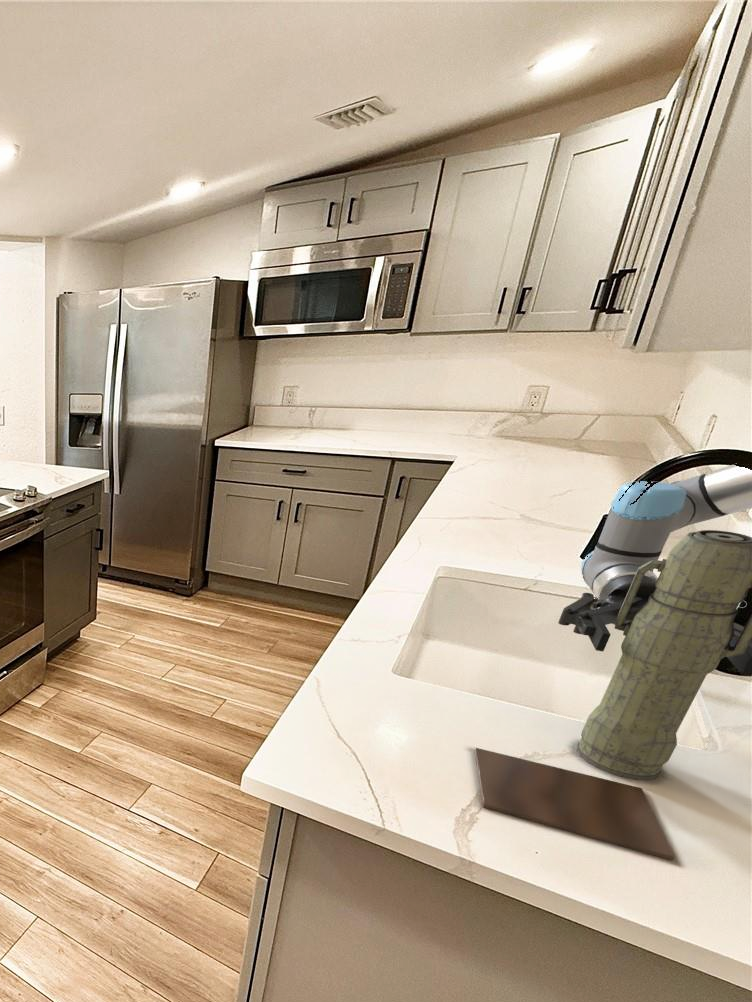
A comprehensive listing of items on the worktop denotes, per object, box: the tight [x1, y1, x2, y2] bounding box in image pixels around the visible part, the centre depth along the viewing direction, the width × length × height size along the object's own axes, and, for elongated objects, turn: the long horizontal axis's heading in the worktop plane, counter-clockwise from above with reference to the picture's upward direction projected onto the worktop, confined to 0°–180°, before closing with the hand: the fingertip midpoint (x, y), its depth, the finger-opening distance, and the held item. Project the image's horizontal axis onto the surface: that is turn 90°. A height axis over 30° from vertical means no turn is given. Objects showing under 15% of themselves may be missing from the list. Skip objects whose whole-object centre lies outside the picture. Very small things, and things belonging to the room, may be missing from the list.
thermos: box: [576, 529, 752, 781], centre depth 83 cm, size 9×12×35 cm
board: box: [474, 747, 675, 861], centre depth 84 cm, size 18×14×1 cm
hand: (674, 654), depth 81 cm, fingers open, 13 cm apart
